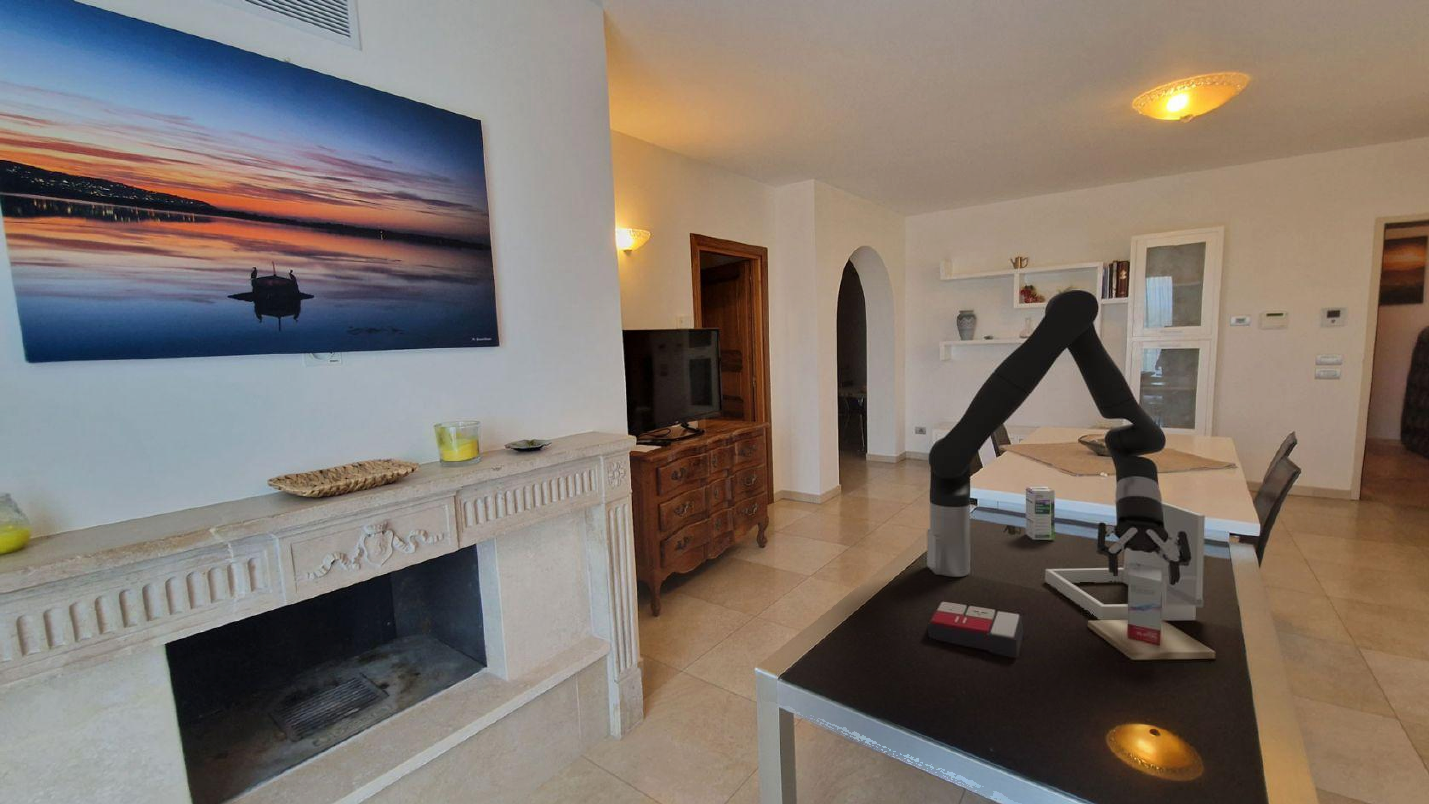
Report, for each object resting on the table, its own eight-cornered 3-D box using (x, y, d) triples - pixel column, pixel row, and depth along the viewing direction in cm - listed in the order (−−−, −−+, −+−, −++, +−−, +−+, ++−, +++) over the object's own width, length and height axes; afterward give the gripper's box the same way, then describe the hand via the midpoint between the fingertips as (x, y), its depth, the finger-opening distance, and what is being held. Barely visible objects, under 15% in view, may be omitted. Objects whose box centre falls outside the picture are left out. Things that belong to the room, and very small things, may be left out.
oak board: (1131, 659, 96) (1131, 652, 96) (1087, 626, 108) (1087, 620, 108) (1215, 658, 95) (1215, 651, 95) (1161, 625, 107) (1161, 619, 107)
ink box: (1160, 646, 98) (1162, 581, 97) (1126, 638, 101) (1127, 575, 100) (1161, 627, 104) (1162, 566, 103) (1128, 620, 107) (1130, 561, 106)
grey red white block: (940, 599, 115) (1022, 611, 106) (941, 619, 115) (1023, 633, 106) (927, 620, 106) (1016, 636, 97) (928, 642, 106) (1017, 659, 97)
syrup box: (1033, 540, 158) (1033, 490, 157) (1025, 533, 164) (1025, 485, 163) (1054, 540, 157) (1055, 490, 156) (1046, 534, 163) (1046, 485, 162)
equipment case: (1101, 621, 110) (1103, 517, 108) (1045, 581, 130) (1046, 493, 128) (1202, 619, 109) (1205, 515, 107) (1130, 580, 129) (1132, 491, 127)
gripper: (1097, 490, 114) (1098, 563, 105) (1187, 498, 106) (1196, 577, 97) (1095, 509, 119) (1096, 580, 110) (1181, 518, 111) (1190, 595, 102)
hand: (1143, 578), depth 104 cm, fingers open, 8 cm apart
